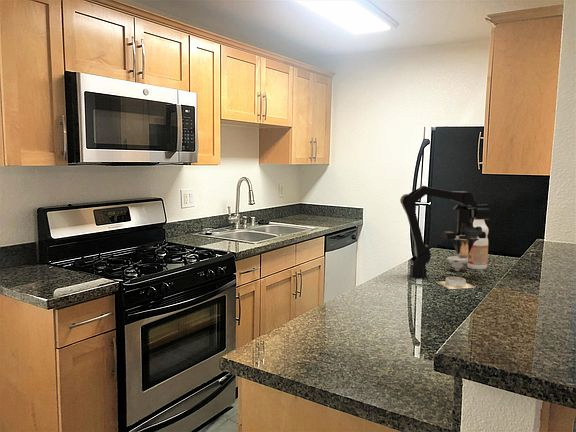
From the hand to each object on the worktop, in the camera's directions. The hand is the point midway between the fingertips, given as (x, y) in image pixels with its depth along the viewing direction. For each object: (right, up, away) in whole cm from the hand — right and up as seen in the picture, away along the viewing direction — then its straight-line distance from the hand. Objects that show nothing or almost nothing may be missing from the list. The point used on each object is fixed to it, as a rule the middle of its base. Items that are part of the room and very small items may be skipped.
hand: (463, 253), depth 209 cm
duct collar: (-8, -12, -11) cm, 18 cm away
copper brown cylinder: (0, -2, 0) cm, 2 cm away
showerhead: (+4, -10, +19) cm, 22 cm away
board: (-8, -13, -11) cm, 19 cm away
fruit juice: (+16, -9, +25) cm, 31 cm away
